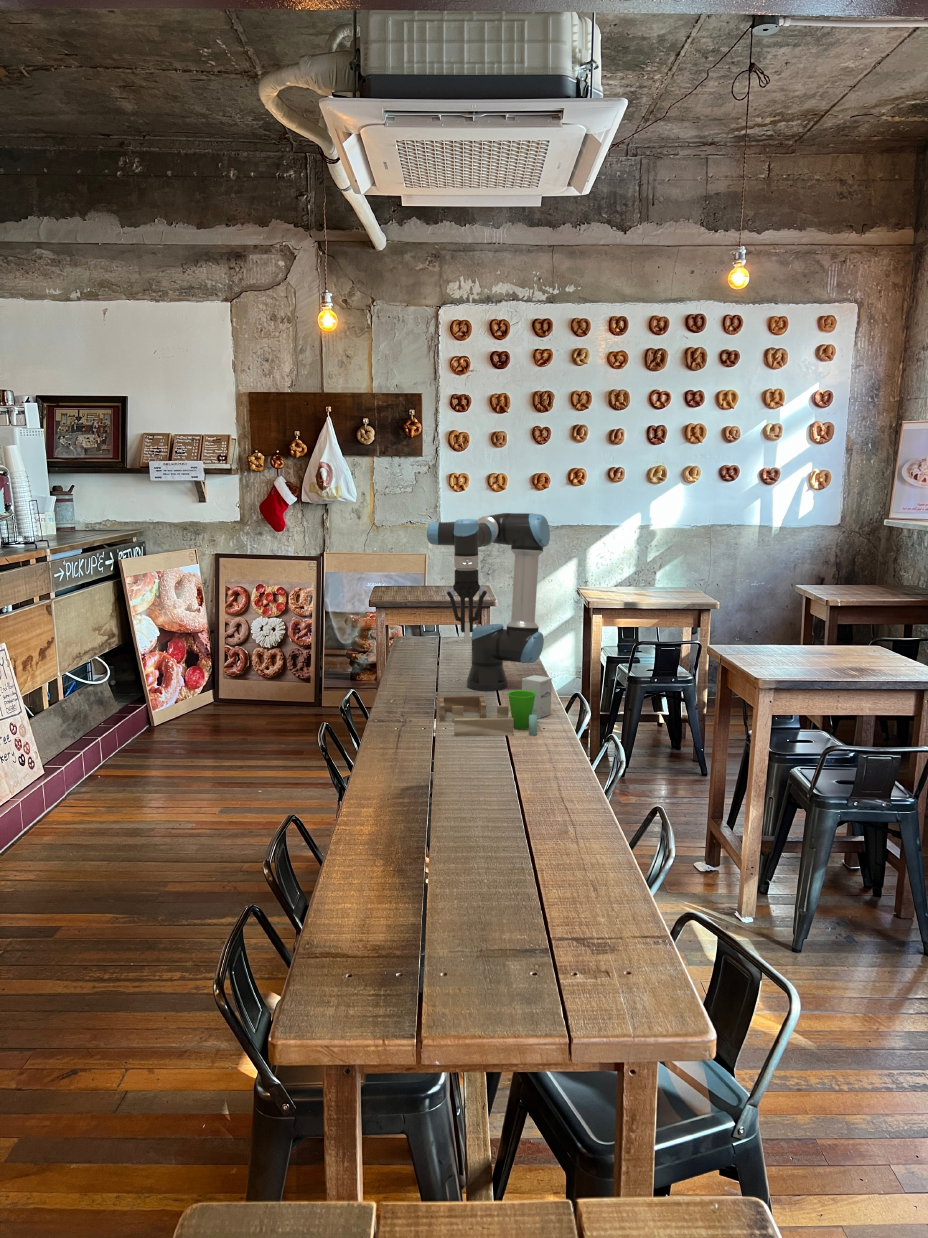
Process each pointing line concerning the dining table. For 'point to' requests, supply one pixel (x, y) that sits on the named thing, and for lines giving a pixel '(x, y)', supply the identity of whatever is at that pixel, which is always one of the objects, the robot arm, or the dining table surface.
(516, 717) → the cup
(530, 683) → the supplement box
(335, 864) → the dining table surface
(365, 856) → the dining table surface
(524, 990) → the dining table surface
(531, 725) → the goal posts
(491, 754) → the dining table surface
